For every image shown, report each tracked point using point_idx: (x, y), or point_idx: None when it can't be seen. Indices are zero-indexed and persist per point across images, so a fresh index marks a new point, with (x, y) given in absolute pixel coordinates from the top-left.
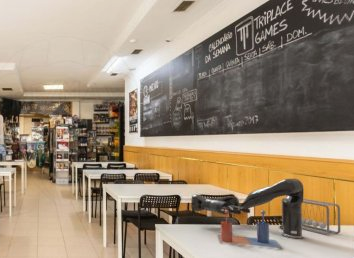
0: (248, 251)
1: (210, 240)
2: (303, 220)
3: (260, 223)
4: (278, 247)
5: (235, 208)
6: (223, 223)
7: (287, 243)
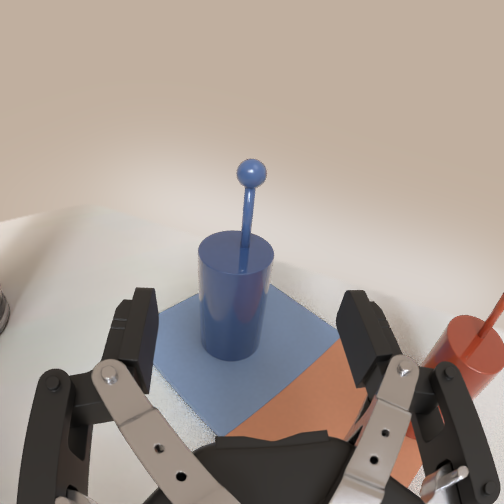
0: (396, 305)
1: None
2: None
3: (265, 251)
4: None
5: (252, 441)
6: (496, 339)
7: (120, 296)
